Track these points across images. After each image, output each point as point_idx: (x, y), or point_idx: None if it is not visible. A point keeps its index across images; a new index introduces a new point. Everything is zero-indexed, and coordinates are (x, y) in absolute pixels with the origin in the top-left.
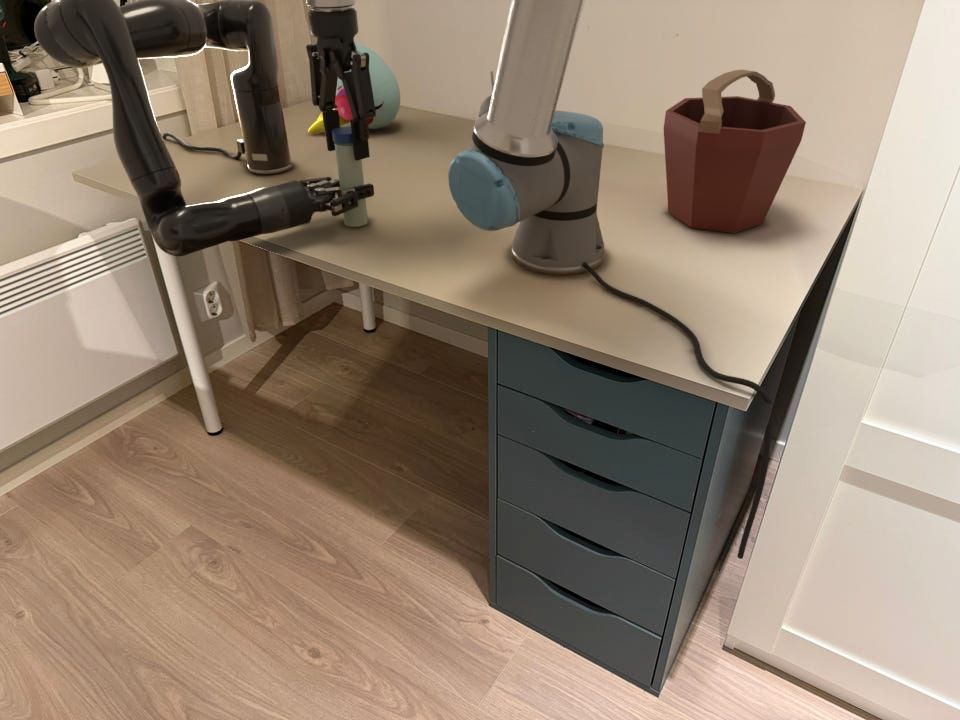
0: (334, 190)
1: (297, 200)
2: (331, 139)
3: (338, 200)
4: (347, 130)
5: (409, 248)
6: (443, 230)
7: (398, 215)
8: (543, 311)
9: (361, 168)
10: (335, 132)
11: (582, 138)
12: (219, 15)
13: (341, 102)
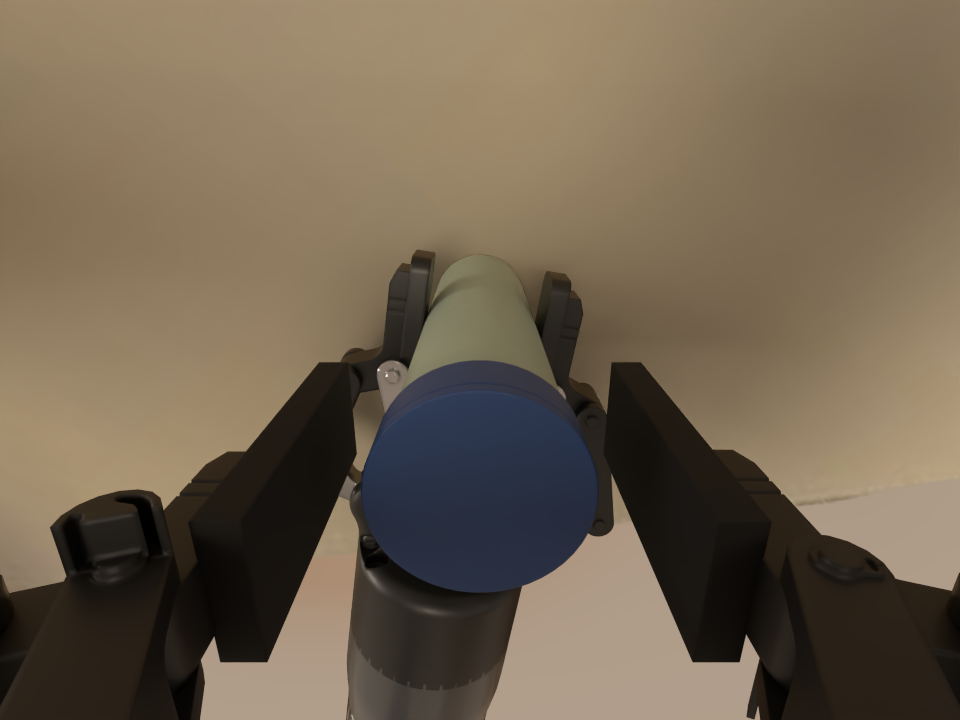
0: None
1: (511, 622)
2: (335, 475)
3: (608, 507)
4: (496, 495)
5: (790, 314)
6: (808, 112)
7: (552, 134)
8: None
9: (540, 341)
10: (466, 580)
11: None
12: None
13: None
